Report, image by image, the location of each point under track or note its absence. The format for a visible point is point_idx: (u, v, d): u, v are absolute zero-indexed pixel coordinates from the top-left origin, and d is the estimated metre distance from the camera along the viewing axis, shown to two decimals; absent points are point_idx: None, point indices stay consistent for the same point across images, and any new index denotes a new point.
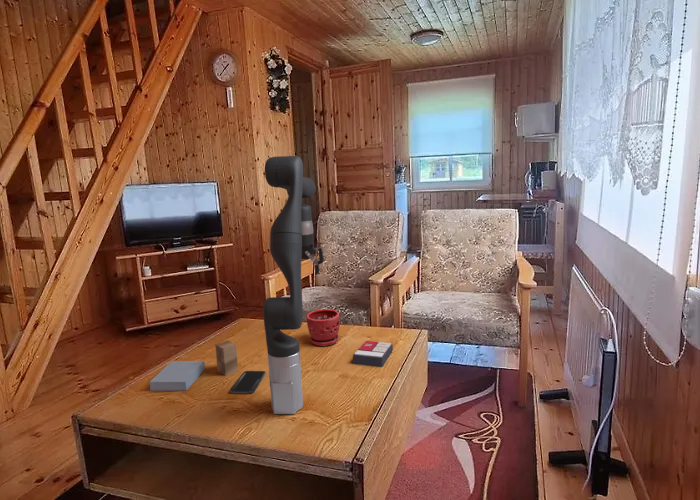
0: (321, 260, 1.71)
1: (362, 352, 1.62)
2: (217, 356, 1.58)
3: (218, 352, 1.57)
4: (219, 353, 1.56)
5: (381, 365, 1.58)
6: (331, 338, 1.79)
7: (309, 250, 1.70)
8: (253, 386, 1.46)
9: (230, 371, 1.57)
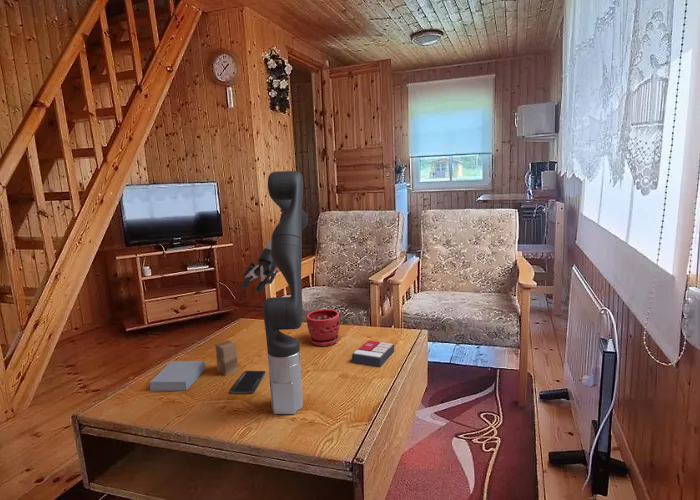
0: (267, 277, 1.60)
1: (361, 352, 1.63)
2: (217, 356, 1.58)
3: (218, 352, 1.57)
4: (219, 353, 1.56)
5: (379, 365, 1.58)
6: (331, 338, 1.79)
7: (265, 267, 1.65)
8: (253, 386, 1.46)
9: (230, 371, 1.57)
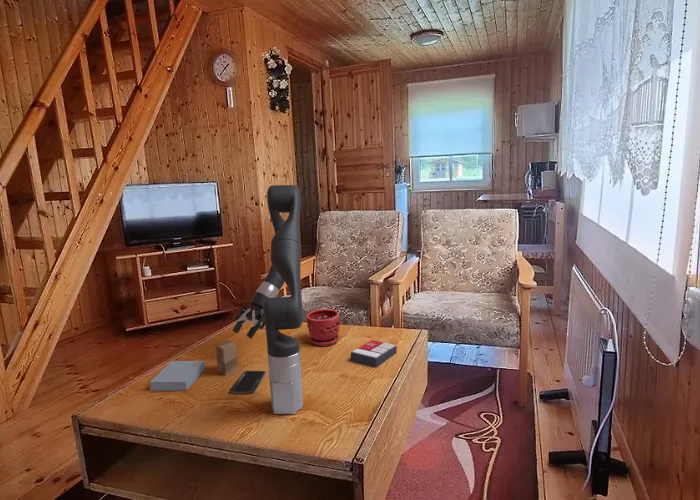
0: (258, 323, 1.60)
1: (360, 351, 1.64)
2: (217, 356, 1.58)
3: (218, 352, 1.57)
4: (219, 353, 1.56)
5: (375, 366, 1.58)
6: (331, 338, 1.79)
7: (257, 311, 1.64)
8: (253, 386, 1.46)
9: (230, 371, 1.57)
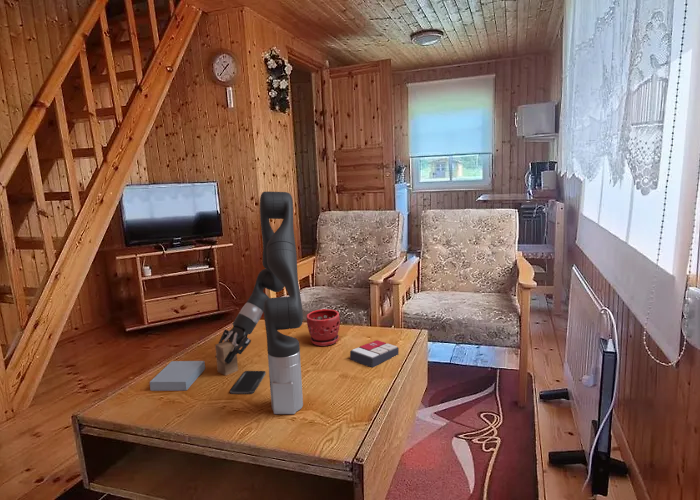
0: (237, 347, 1.55)
1: (360, 350, 1.65)
2: (217, 356, 1.58)
3: (218, 352, 1.57)
4: (219, 353, 1.56)
5: (371, 366, 1.58)
6: (331, 338, 1.79)
7: (239, 335, 1.59)
8: (253, 386, 1.46)
9: (230, 371, 1.57)
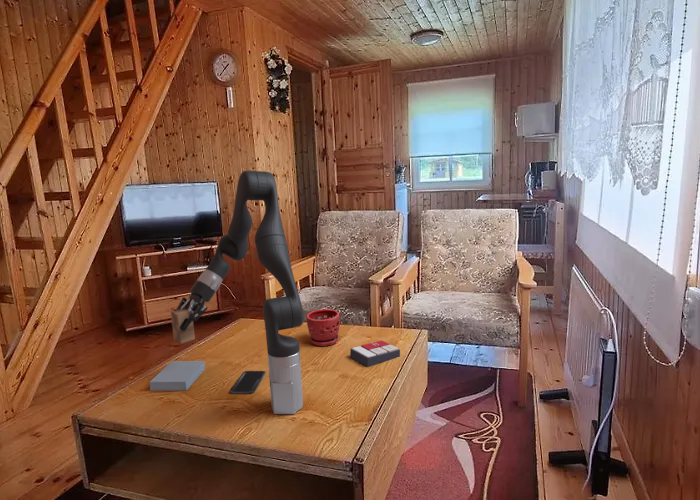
0: (192, 314, 1.50)
1: (359, 349, 1.66)
2: (173, 323, 1.52)
3: (174, 319, 1.51)
4: (174, 320, 1.51)
5: (366, 365, 1.59)
6: (331, 338, 1.79)
7: (196, 302, 1.53)
8: (253, 386, 1.46)
9: (186, 339, 1.52)
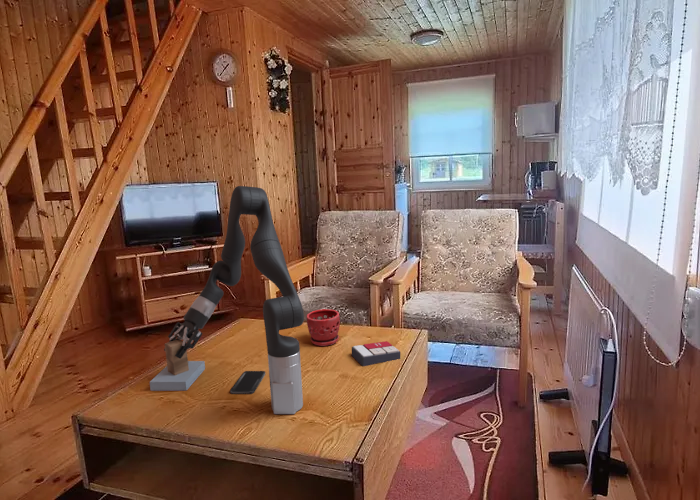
0: (188, 342, 1.49)
1: (360, 347, 1.67)
2: (166, 355, 1.53)
3: (167, 351, 1.51)
4: (168, 352, 1.51)
5: (362, 364, 1.59)
6: (331, 338, 1.79)
7: (189, 328, 1.54)
8: (253, 386, 1.46)
9: (180, 371, 1.52)
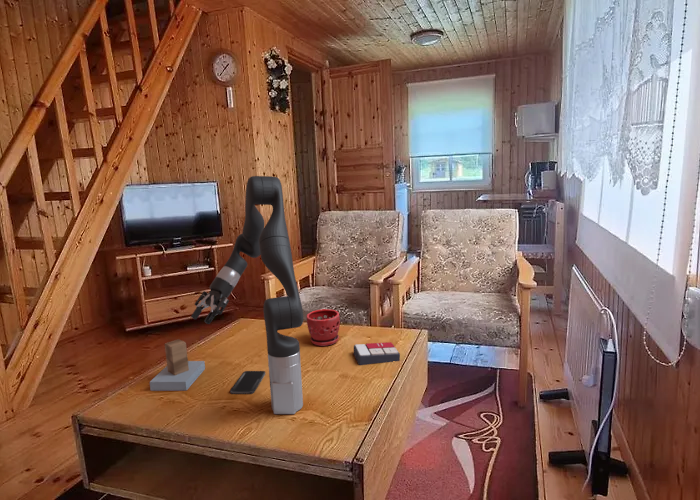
0: (217, 308, 1.55)
1: (361, 346, 1.68)
2: (166, 355, 1.53)
3: (167, 351, 1.51)
4: (168, 352, 1.51)
5: (359, 363, 1.60)
6: (331, 338, 1.79)
7: (216, 296, 1.60)
8: (253, 386, 1.46)
9: (180, 371, 1.52)
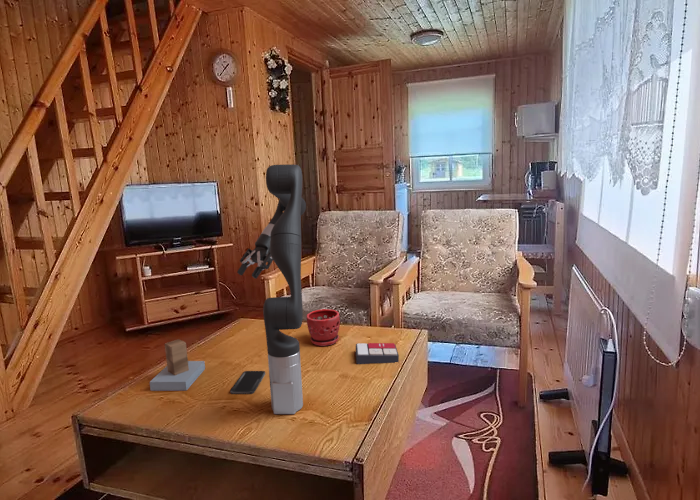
0: (264, 262, 1.57)
1: (362, 345, 1.68)
2: (166, 355, 1.53)
3: (167, 351, 1.51)
4: (168, 352, 1.51)
5: (356, 362, 1.61)
6: (331, 338, 1.79)
7: (262, 252, 1.62)
8: (253, 386, 1.46)
9: (180, 371, 1.52)
